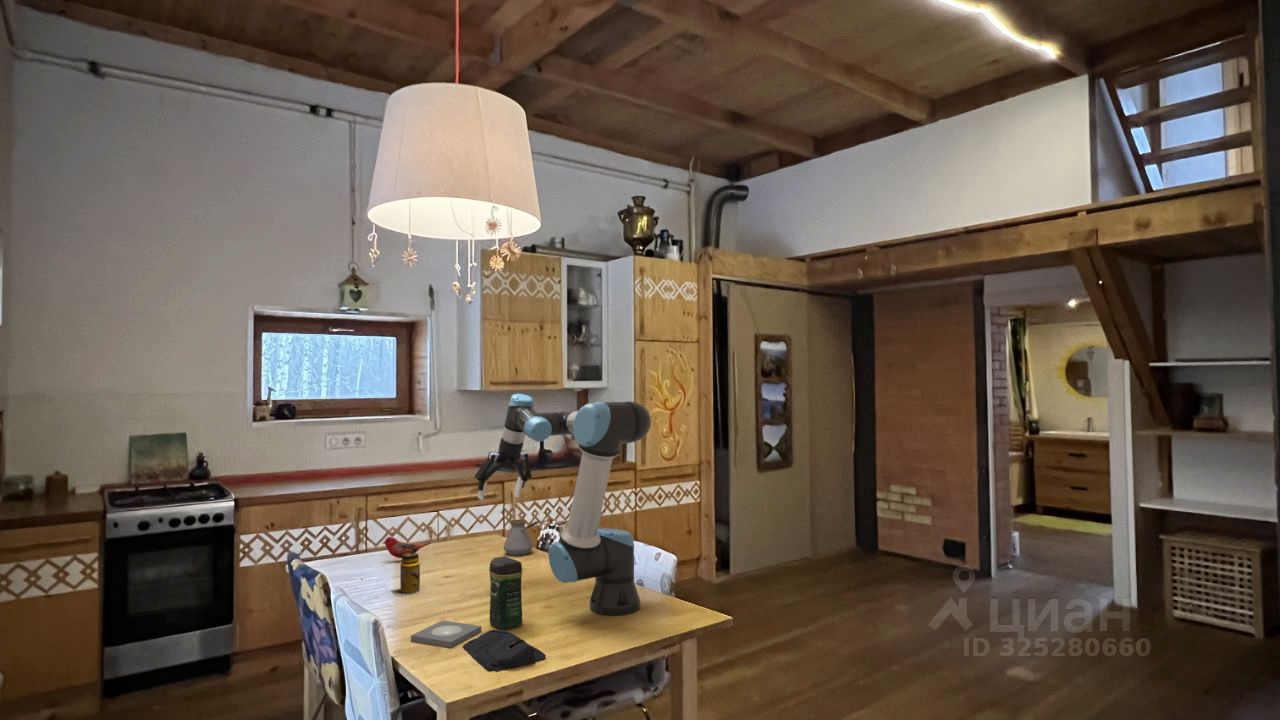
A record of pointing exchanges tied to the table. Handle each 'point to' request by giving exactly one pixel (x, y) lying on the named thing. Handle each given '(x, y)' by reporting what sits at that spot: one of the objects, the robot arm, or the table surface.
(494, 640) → the folded black cloth
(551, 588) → the table surface
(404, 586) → the condiment
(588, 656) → the table surface
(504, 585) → the coffee jar
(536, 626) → the table surface
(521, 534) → the coffee pot
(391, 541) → the decorative bird figurine
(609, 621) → the table surface
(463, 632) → the plate
